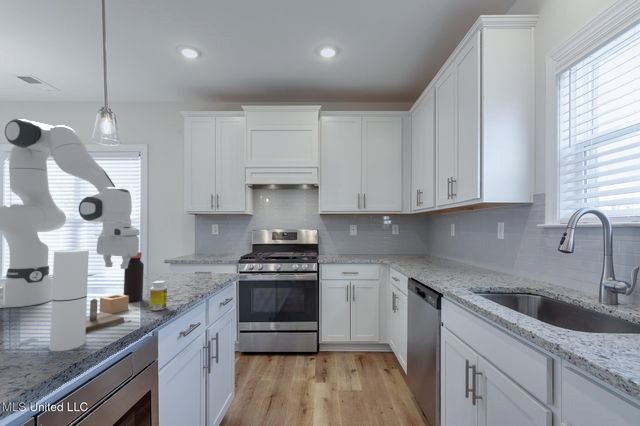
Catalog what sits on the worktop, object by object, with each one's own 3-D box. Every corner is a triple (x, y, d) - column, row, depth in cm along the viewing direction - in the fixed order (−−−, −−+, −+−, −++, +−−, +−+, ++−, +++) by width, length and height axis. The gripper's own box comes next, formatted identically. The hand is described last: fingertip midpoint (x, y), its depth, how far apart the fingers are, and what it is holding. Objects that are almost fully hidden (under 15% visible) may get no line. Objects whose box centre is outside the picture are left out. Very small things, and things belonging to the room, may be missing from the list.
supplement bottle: (165, 310, 111) (166, 282, 112) (148, 311, 109) (149, 283, 110) (167, 306, 116) (168, 279, 117) (151, 307, 115) (152, 280, 115)
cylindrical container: (55, 353, 74) (60, 252, 75) (45, 347, 78) (49, 250, 79) (89, 344, 80) (93, 250, 81) (78, 338, 84) (82, 249, 85)
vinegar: (131, 298, 128) (133, 251, 129) (146, 298, 127) (147, 251, 128) (119, 302, 121) (121, 252, 122) (134, 302, 120) (136, 253, 121)
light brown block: (99, 311, 109) (100, 297, 109) (117, 307, 114) (118, 294, 114) (109, 314, 106) (110, 299, 106) (128, 309, 111) (128, 296, 112)
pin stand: (60, 327, 92) (61, 300, 92) (102, 316, 103) (103, 292, 103) (81, 334, 87) (82, 306, 87) (123, 322, 98) (124, 297, 98)
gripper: (91, 230, 113) (91, 267, 112) (125, 231, 104) (124, 270, 103) (109, 230, 118) (108, 265, 118) (142, 230, 109) (141, 268, 109)
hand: (116, 267), depth 110 cm, fingers open, 8 cm apart
